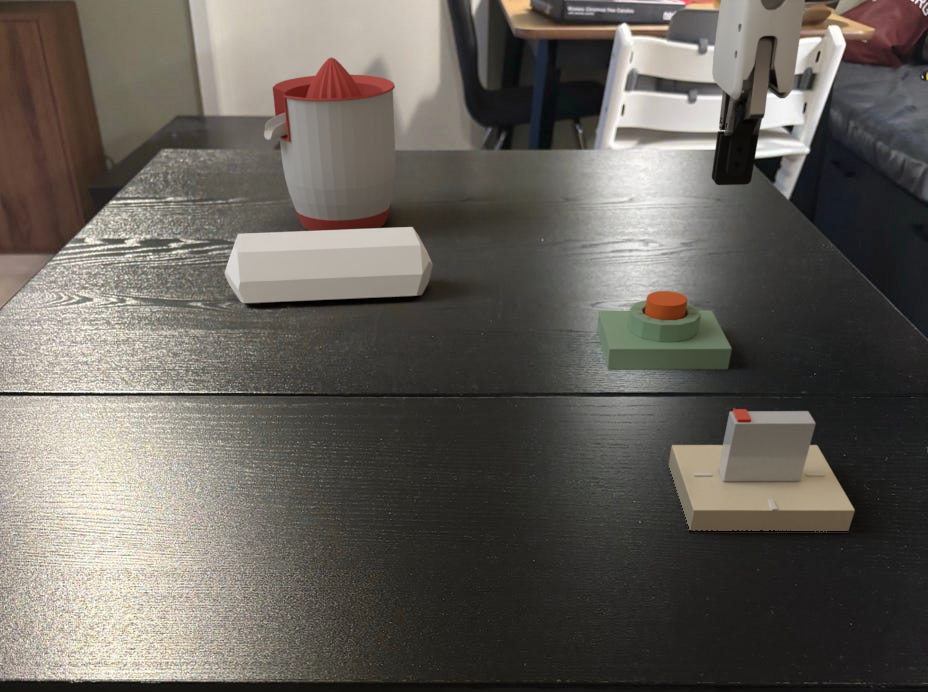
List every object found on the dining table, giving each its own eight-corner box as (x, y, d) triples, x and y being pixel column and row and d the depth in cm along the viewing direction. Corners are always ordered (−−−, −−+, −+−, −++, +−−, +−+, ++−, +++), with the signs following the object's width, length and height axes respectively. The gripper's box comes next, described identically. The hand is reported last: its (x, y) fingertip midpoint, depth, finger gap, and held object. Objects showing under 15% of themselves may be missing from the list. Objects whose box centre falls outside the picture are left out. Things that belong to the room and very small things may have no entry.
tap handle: (793, 468, 74) (809, 407, 71) (800, 481, 73) (816, 420, 69) (717, 468, 74) (730, 408, 71) (723, 481, 73) (735, 420, 70)
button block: (708, 330, 101) (715, 293, 98) (728, 369, 93) (735, 330, 91) (596, 330, 101) (600, 293, 98) (607, 369, 93) (611, 330, 91)
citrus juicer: (263, 217, 133) (242, 53, 120) (379, 203, 138) (371, 43, 125) (291, 251, 122) (271, 74, 109) (416, 234, 127) (411, 62, 114)
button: (681, 307, 96) (683, 290, 95) (688, 322, 93) (690, 305, 92) (642, 307, 96) (644, 290, 95) (647, 322, 93) (649, 305, 92)
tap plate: (811, 465, 79) (817, 442, 77) (848, 533, 71) (856, 509, 70) (668, 465, 79) (671, 442, 78) (689, 533, 71) (694, 508, 70)
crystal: (218, 281, 102) (436, 271, 104) (218, 229, 105) (431, 221, 106) (230, 325, 109) (434, 316, 111) (230, 275, 112) (430, 267, 113)
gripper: (848, -71, 66) (794, 205, 78) (793, -81, 78) (753, 160, 90) (741, -67, 67) (703, 207, 78) (702, -78, 78) (674, 162, 90)
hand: (730, 181), depth 84 cm, fingers closed
